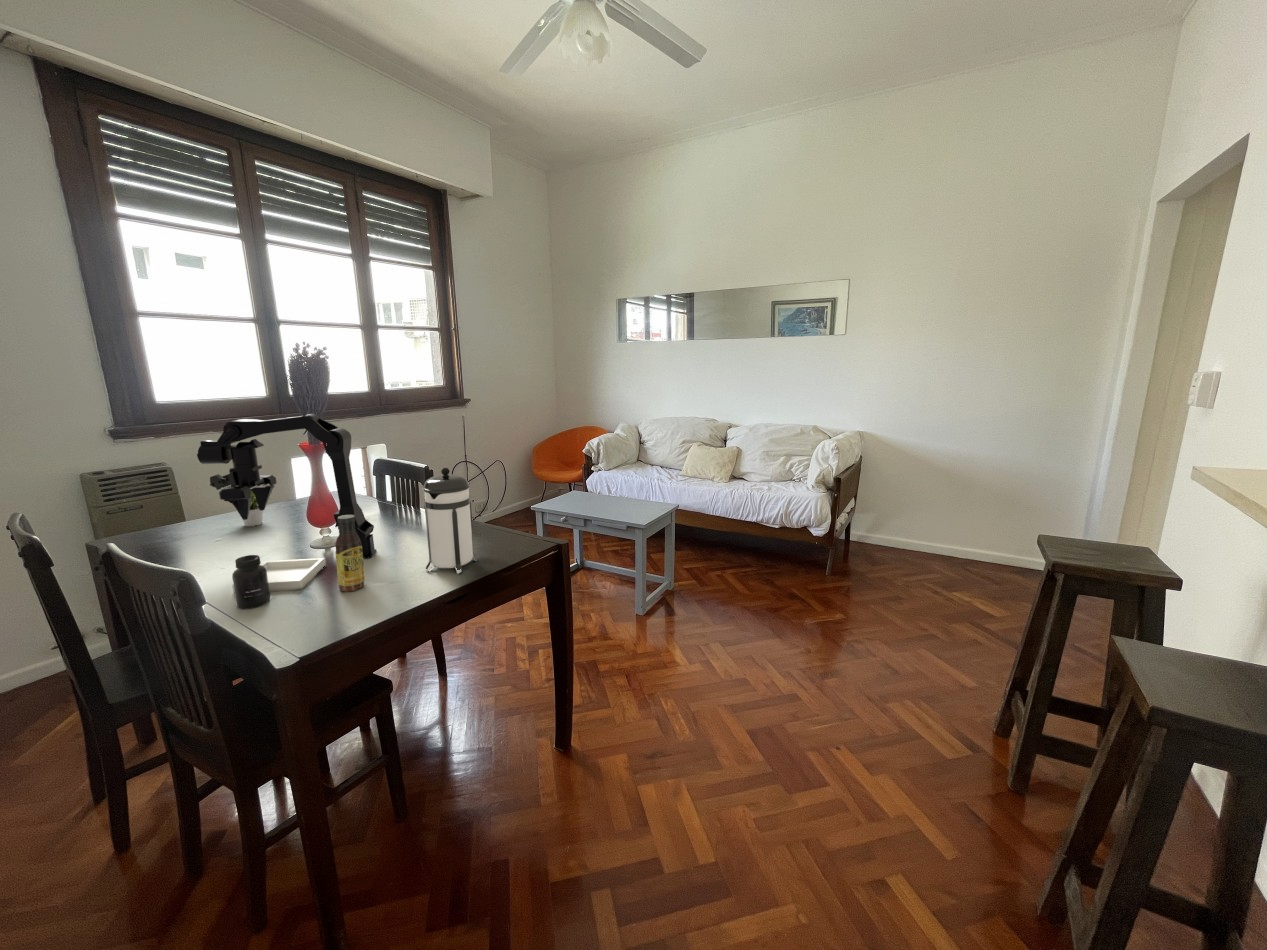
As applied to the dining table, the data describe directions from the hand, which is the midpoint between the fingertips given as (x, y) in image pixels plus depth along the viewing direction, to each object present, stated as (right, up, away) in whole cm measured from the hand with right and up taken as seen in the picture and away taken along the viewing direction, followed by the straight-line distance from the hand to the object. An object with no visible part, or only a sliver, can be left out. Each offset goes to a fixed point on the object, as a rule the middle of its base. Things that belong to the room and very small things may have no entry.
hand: (253, 514), depth 148 cm
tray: (+15, -17, -9) cm, 24 cm away
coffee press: (+58, -15, +2) cm, 60 cm away
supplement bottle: (+17, -21, -23) cm, 35 cm away
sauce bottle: (+37, -19, -14) cm, 44 cm away
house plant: (-28, -7, +36) cm, 46 cm away
